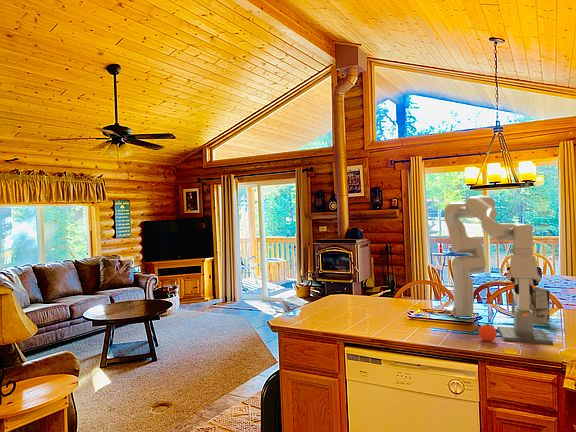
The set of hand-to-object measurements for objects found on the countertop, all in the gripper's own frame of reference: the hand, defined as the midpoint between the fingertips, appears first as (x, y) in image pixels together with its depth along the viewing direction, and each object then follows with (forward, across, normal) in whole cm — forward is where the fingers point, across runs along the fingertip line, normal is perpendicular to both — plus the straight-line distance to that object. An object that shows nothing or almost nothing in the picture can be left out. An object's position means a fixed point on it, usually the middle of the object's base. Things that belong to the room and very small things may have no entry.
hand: (523, 293), depth 186 cm
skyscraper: (+19, +8, +46) cm, 51 cm away
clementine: (+19, -16, -11) cm, 27 cm away
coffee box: (+19, +13, +32) cm, 39 cm away
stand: (+19, 0, 0) cm, 19 cm away
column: (+11, 0, 0) cm, 11 cm away
